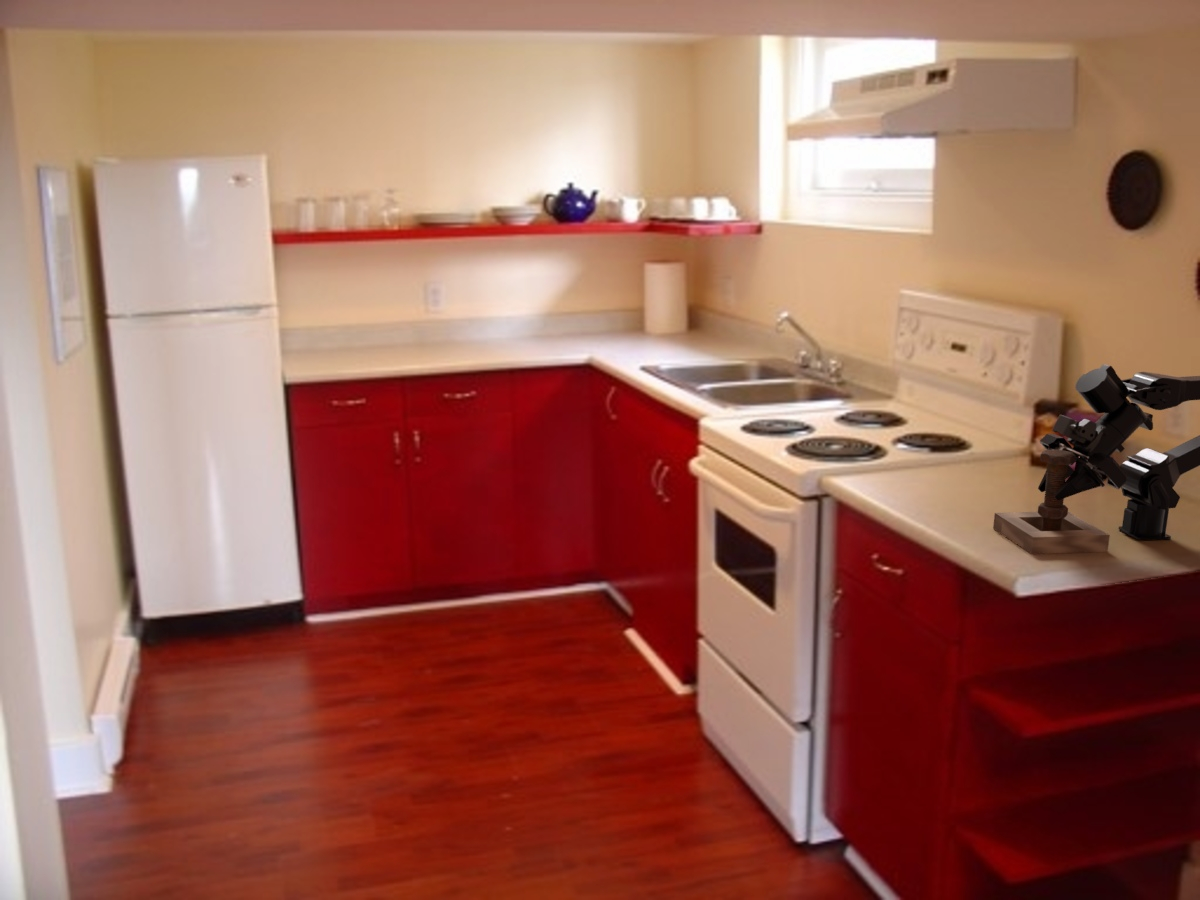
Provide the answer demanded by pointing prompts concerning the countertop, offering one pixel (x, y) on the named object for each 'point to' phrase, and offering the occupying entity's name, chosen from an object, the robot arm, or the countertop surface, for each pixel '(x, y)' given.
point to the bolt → (1054, 488)
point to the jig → (1051, 534)
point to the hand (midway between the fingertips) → (1047, 494)
